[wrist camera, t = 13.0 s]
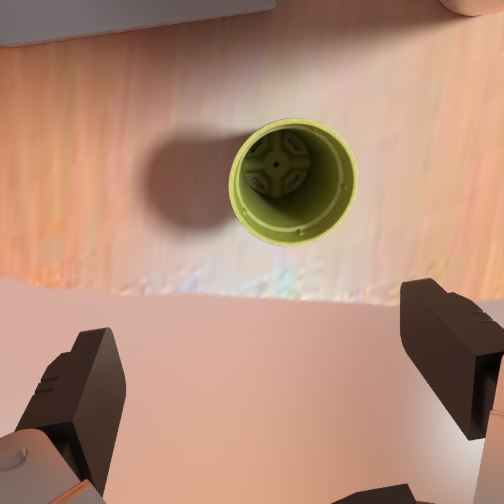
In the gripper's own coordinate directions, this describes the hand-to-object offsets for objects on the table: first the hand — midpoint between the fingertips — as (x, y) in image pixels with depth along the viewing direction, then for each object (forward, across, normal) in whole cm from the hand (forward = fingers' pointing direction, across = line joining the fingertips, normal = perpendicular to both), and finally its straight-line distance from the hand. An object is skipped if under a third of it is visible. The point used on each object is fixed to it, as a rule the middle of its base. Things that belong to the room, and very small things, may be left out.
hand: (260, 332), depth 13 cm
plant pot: (+30, -5, +2) cm, 30 cm away
